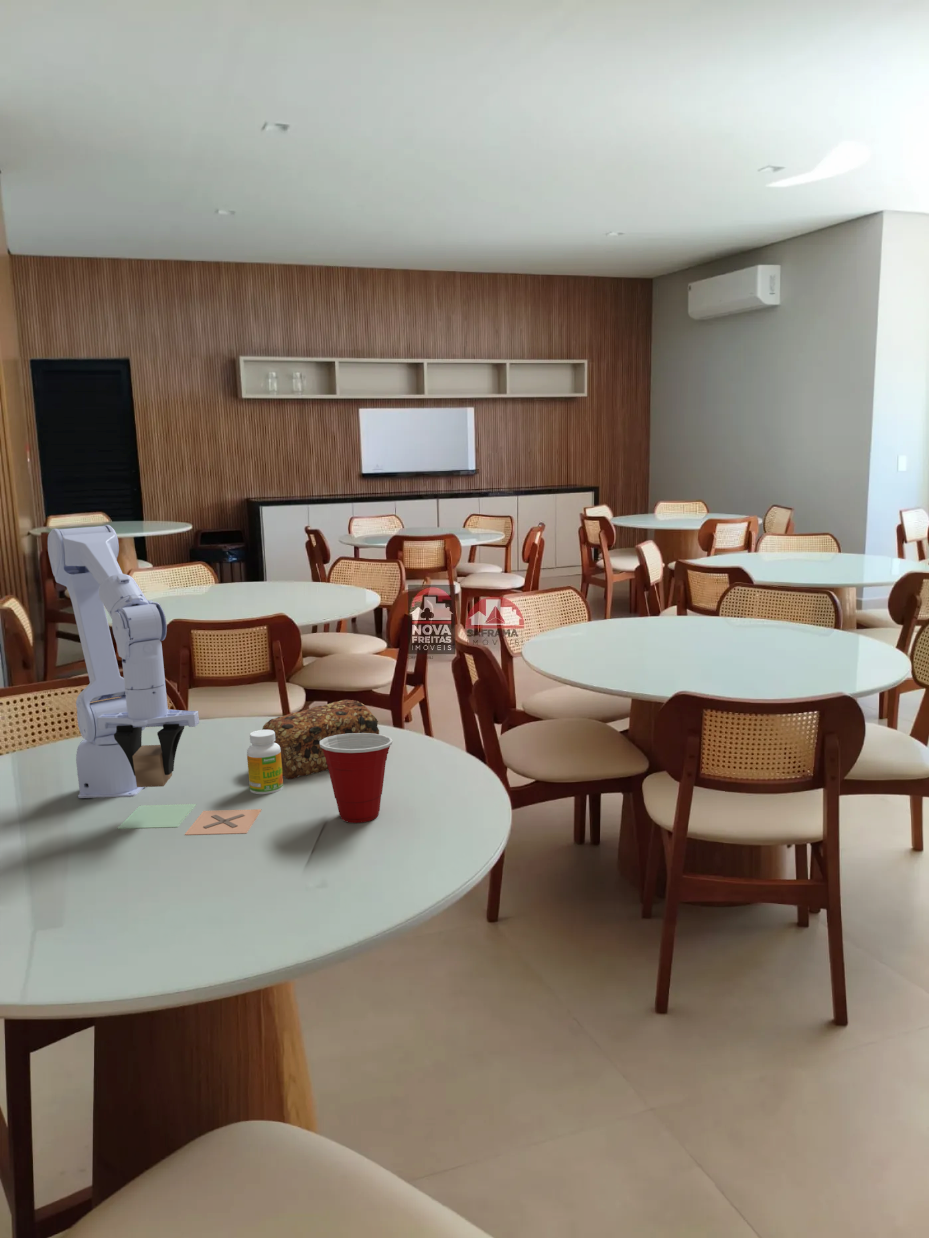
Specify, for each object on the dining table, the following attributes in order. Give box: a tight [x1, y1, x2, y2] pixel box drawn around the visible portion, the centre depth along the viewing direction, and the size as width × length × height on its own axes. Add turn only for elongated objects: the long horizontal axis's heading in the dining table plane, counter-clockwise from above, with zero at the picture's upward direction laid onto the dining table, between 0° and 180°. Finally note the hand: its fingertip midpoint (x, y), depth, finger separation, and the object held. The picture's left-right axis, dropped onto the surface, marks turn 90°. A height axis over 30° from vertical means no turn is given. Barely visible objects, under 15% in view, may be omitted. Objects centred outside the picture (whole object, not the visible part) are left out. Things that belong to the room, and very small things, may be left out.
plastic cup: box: [320, 733, 393, 824], centre depth 136 cm, size 11×11×12 cm
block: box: [132, 744, 173, 788], centre depth 137 cm, size 4×4×5 cm
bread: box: [261, 699, 380, 780], centre depth 162 cm, size 19×11×10 cm, turn 125°
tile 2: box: [184, 808, 263, 836], centre depth 136 cm, size 9×9×1 cm
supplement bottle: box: [246, 729, 284, 795], centre depth 148 cm, size 5×5×10 cm
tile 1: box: [116, 803, 197, 830], centre depth 139 cm, size 9×9×1 cm
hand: (153, 773), depth 138 cm, fingers closed on block, 4 cm apart
